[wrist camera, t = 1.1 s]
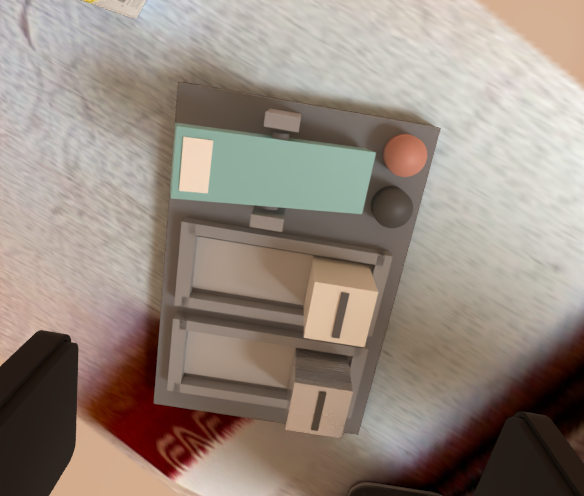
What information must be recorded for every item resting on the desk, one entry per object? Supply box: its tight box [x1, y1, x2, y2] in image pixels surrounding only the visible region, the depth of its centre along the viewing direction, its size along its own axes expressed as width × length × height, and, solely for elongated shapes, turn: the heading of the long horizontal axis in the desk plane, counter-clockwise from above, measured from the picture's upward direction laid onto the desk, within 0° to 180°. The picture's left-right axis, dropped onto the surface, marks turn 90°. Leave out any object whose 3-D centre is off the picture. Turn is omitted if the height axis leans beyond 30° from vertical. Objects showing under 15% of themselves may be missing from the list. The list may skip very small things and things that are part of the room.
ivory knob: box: [304, 256, 378, 347], centre depth 31 cm, size 4×4×5 cm
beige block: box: [285, 348, 353, 438], centre depth 33 cm, size 4×4×5 cm
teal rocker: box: [170, 123, 376, 214], centre depth 28 cm, size 12×5×2 cm, turn 80°
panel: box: [154, 82, 441, 435], centre depth 32 cm, size 17×25×6 cm
